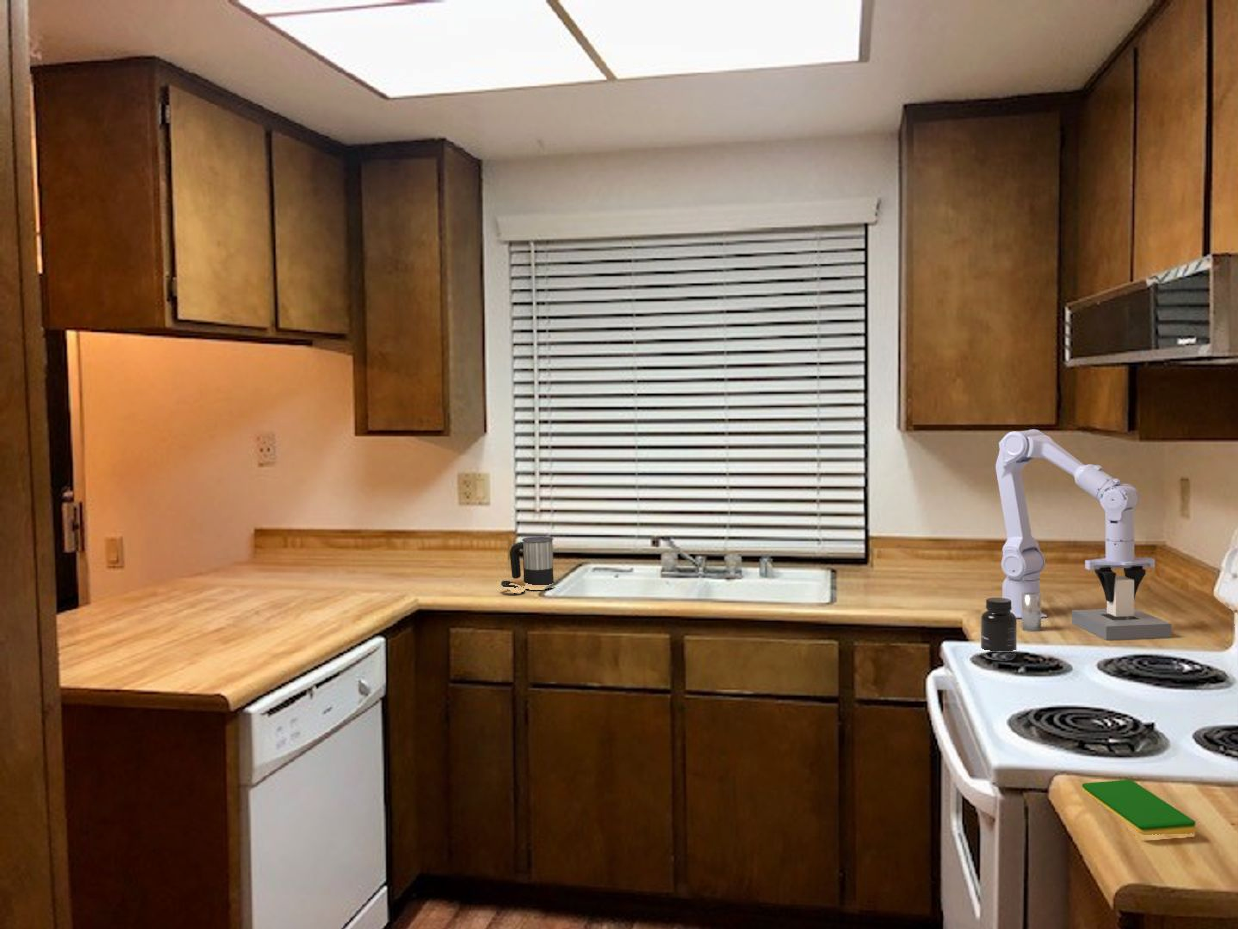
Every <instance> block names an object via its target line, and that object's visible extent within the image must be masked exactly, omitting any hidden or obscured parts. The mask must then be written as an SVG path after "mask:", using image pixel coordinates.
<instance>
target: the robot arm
mask: <svg viewBox="0 0 1238 929" xmlns="http://www.w3.org/2000/svg"><path fill="white" fill-rule="evenodd" d="M998 446H999V452H998V456H997V459H996V463H995V472H996V477H997V478H996V479H997V485H998V490H999V496H1000V497H999V498H1000V502H1001V508H1002V514H1003V515H1002V516H1003V519H1004V520H1003V521H1004V527H1005V532H1006V537H1007V538H1006V541H1005V543H1004V545H1003V546H1002V549H1001V550H1002V558H1001V562H1000V566H1001V570H1002V572H1003V573H1004V575H1005V576H1006V577H1005V579H1004V580H1003V582H1002V585H1001V586H1002V587H1001V588H1002V589H1001V591H1002V592H1001V595H1002V597H1001V598H1006V599H1010V600H1011V607H1012V609H1011V610H1010V612H1011V613H1013V614H1014V615H1015V616H1016V619H1022V593H1028V592H1031V593H1039V594H1041V579H1040V578H1041V572H1042V571H1043V569H1044V568H1045V567H1046V559H1045V555H1044V554H1043V553H1042V551H1041V549H1040V545H1039V544H1040V543H1039V542H1038V541H1037V540H1036V539H1035V537H1033V536H1032V530H1031V523H1030V518H1029V513H1028V506H1027V501H1026V500H1027V499H1026V494H1025V489H1024V488H1025V487H1024V483H1023V477H1022V471H1023V469H1024V468H1025V467H1026V465H1027V464H1028V463H1029V462H1030V461H1031V460H1033V459H1037V458H1038V459H1045V460H1047V461H1049V462H1050V463H1052V464H1053V465H1055V466H1057V467H1058V468H1060V469H1061V470H1062V471H1065V472H1066V473H1068V474H1070V475H1072V476H1073V477H1074V483H1075V485H1076V486H1077V487H1079V488H1081V489H1082V490H1084V492H1086V493H1088V495H1091V496H1092V497H1093V498H1094V499H1096V500H1098V501H1099V503H1100V506H1101V507H1102V509H1103V510H1104V513H1105V514H1104V515H1105V519H1104V520H1105V523H1104V524H1105V527H1104V528H1105V531H1104V532H1105V543H1104V544H1105V558H1097V559H1095V558H1094V559H1085V560H1084V564H1085V565H1084V566H1085V568H1084V569H1085V570H1087V571H1088V570H1089V571H1094V573H1095V575H1096V576H1097V578H1098V579H1099V582H1100V584H1101V587H1102V589H1103V593H1104V597H1105V601H1106V602H1107V601H1109V602H1113V601H1114V583H1115V577H1117V573H1116V572H1114V571H1113V570H1115V569H1123V573H1124V577H1127V578H1130V579H1133V580H1134V600H1135V599H1136V596H1137V592H1138V589H1139V586H1140V585H1141V582H1142V581H1143V579H1144V577H1145V576H1146V571H1147V570H1146V569H1145V568H1150V569H1151V568H1155V567H1156V564H1155V562H1156V559H1155V558H1153V557H1135V507H1136V506H1137V505H1138V503H1139V500H1140V496H1139V492H1138V491H1137V489H1136V488H1135V487H1134V486H1133V484H1129V483H1121V480H1120V479H1119V478H1113V477H1112V476H1111V475H1110V474H1108V473H1106V472H1105V471H1104V470H1103V467H1102V466H1101V465H1099V464H1096V465H1095V464H1094V463H1093V464H1092V463H1089V464H1084V463H1082V462H1081V461H1080V460H1079V459H1077V458H1076V457H1075V456H1073V455H1072V454H1070V453H1069V452H1068V451H1067V450H1066V449H1065V448H1063V447H1062V446H1060V445H1059V444H1058V443H1056V442H1055V441H1054V440H1053V439H1052V438H1051V437H1050V436H1049V435H1046V434H1044V433H1043V432H1042V431H1040V430H1039V429H1028V430H1021V431H1015V430H1014V431H1010V432H1008V433H1007V434H1005V435H1004V436H1003V438H1002V439H1001V440H1000V441H999V442H998ZM1046 617H1048V616H1047V614H1045V613H1044V612H1042V611H1041V618H1046Z"/></svg>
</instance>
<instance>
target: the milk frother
mask: <svg viewBox="0 0 1238 929" xmlns="http://www.w3.org/2000/svg"><path fill="white" fill-rule="evenodd" d="M553 540H554V537H551V536H528V537H524V538H522V539H521V541H520V542H516V543H514V544H513V545H512V546H511V547H510V550H509V559H510V569H511V577H512V579H514V580H515V579H516V580H518V579H519V578H521V576H522V572H521V559H520V550H522V562H523V563H522V565H523V567H522V569H523V583H524V582H525V583H528V584H532V585H549V584H552V583H554V584H555V578H554V577H555V576H554V553H553V552H554V548H553V546H554V545H553V543H554V542H553ZM510 583H515V582H514V581H510V580H502V581H501V583H500V585H501V587H502V586H503V587H514V588H516V587H518V586H515V585H509V584H510ZM503 587H502V588H503Z"/></svg>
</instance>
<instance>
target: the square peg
mask: <svg viewBox="0 0 1238 929" xmlns="http://www.w3.org/2000/svg"><path fill="white" fill-rule="evenodd" d="M1106 609H1107V613H1109V614H1111V615H1113V616H1116V617H1119V616H1134V609H1135V599H1134V580H1133V579H1130V578H1127V577H1125V576H1116V577H1115V583H1114V601H1113V602H1109V601H1106Z"/></svg>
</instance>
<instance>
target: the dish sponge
mask: <svg viewBox="0 0 1238 929" xmlns="http://www.w3.org/2000/svg"><path fill="white" fill-rule="evenodd" d="M1081 785H1082V786H1081V787H1082V790H1081V792H1082V791H1084V792H1085V793H1086V794H1088V795H1089V796H1090V797H1092V798H1094V799H1095V800H1096V801H1097V802H1098V803H1100V804H1102V805H1103V806H1104V807H1105V808H1106V809H1108V810H1110V811H1111V812H1112V813H1113V814H1114V815H1116V816H1117V817H1119V818H1120V819H1121V820H1122V821H1123V822H1126V823H1127V824H1128V825H1129V826H1130V827H1132V828H1134V829H1136V831H1138V833H1140V834H1143V835H1152V834H1153V835H1155V834H1157V835H1159V834H1160V835H1161V834H1186V833H1187V834H1190V833H1192V834H1193V833H1194V834H1195V835H1196V821H1195V820H1194V819H1192V818H1191V817H1189V816H1188V815H1186V814H1184V813H1183V812H1181V811H1180V810H1179V809H1177V808H1175V807H1174V806H1173V805H1171V804H1170V803H1168V802H1166V801H1165V800H1163V799H1161V798H1160V797H1159V796H1157V795H1156V794H1154V793H1153V792H1151V791H1149V790H1148V789H1146V788H1145V787H1144V786H1141V785H1140V784H1139V783H1137V782H1136V781H1134V780H1131V779H1122V780H1109V781H1098V782H1097V781H1096V782H1084V783H1083V782H1082V784H1081Z"/></svg>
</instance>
